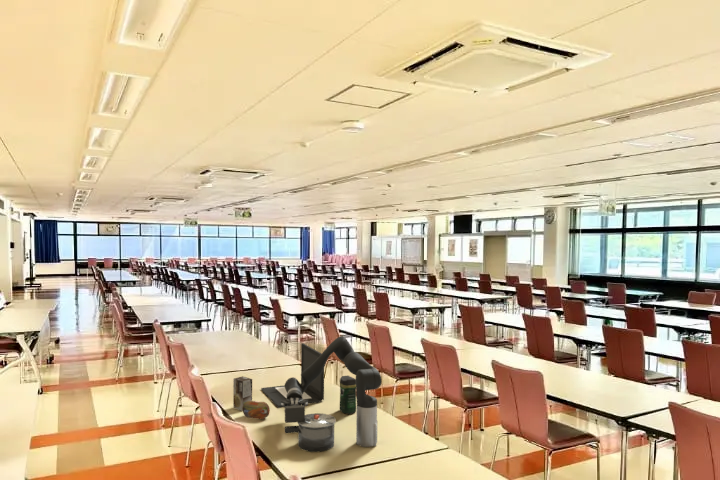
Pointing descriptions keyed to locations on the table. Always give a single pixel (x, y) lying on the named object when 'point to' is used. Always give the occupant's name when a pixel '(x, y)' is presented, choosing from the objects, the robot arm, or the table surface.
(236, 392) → the coffee box
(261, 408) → the tin
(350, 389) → the coffee jar
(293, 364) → the table surface
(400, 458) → the table surface
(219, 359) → the table surface
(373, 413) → the robot arm
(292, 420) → the lid
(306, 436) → the cooking pot
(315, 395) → the laptop
